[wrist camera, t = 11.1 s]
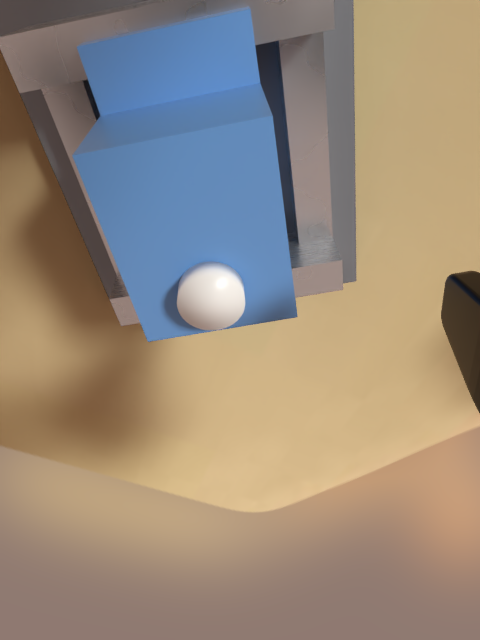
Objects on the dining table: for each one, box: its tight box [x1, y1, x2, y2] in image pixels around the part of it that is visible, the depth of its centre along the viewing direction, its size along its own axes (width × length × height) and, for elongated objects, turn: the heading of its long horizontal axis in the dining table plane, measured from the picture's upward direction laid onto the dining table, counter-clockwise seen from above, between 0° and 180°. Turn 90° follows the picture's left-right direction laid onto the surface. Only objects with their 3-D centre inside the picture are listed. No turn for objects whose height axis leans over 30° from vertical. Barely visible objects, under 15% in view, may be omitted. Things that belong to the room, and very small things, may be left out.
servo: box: [72, 7, 297, 342], centre depth 12 cm, size 4×8×7 cm, turn 10°
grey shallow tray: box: [0, 0, 356, 326], centre depth 14 cm, size 10×12×4 cm
